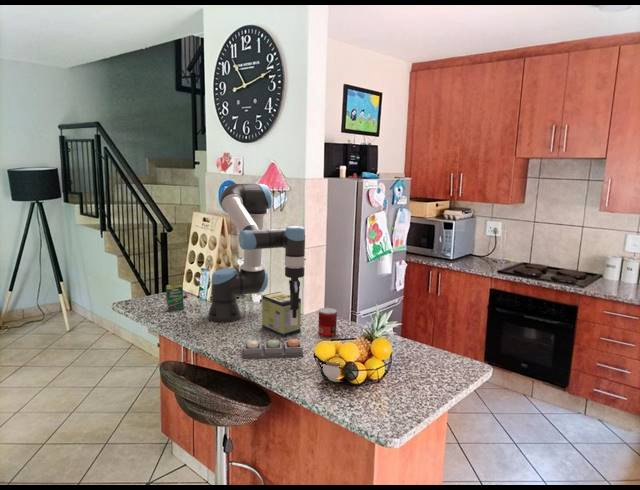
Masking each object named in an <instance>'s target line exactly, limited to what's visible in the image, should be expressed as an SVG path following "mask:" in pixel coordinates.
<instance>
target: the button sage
mask: <svg viewBox="0 0 640 490" xmlns="http://www.w3.org/2000/svg"><path fill="white" fill-rule="evenodd" d="M267 342H268V348H279V342H280V341H279V340H278V339H269V340H267Z"/></svg>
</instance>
